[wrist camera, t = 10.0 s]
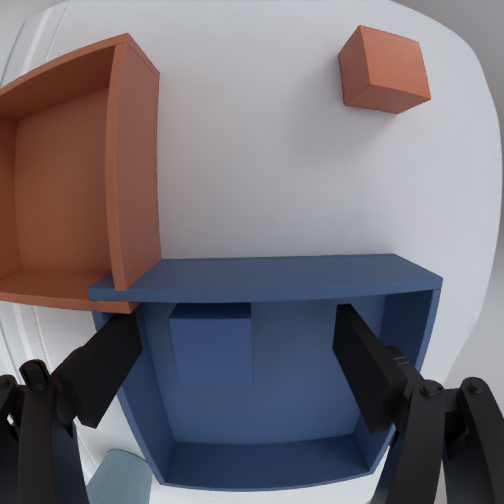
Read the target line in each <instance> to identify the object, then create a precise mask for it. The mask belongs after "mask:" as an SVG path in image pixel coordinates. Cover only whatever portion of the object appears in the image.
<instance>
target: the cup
mask: <svg viewBox="0 0 504 504" xmlns="http://www.w3.org/2000/svg"><path fill="white" fill-rule="evenodd" d="M152 473H153V472H152V470H151V468H150V466H149V464H148V463H147V462H146V461H144V460H143V459H141V458H139V457H138V456H136V455H133V454H131V453H128V452H125V451H121V450H111V451H109V453H108V454H107V455H106V457H105V458H104V460H103V461H102V463H101V464H100V466H99V467H98V469H97V471H96V472H95V474H94V475H93V477H92V478H91V480H90V481H89V483H88V485H87V486H86V491H87V495H88V499H89V503H90V504H149V498H150V490H151V482H152Z"/></svg>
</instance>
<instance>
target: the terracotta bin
mask: <svg viewBox="0 0 504 504" xmlns="http://www.w3.org/2000/svg"><path fill="white" fill-rule="evenodd" d="M159 76H160V72H159V71H158V70H157V69H156V67H155V66H154V65H153V64H152V62H151V61H150V60H149V59H148V57H147V56H146V55H145V53H144V52H143V51H142V50H141V48H140V47H139V46H138V45H137V43H136V42H135V41H134V40H133V38H132V37H131V36H130V35H129V33H126V34H122V35H118V36H115V37H112V38H109V39H105V40H102V41H99V42H96V43H93V44H91V45H88V46H85V47H83V48H80V49H77V50H75V51H72V52H70V53H68V54H65V55H63V56H61V57H58V58H56V59H54V60H52V61H50V62H48V63H46V64H44V65H42V66H40V67H38V68H36V69H34V70H32V71H30V72H28V73H26V74H24V75H23V76H21V77H19V78H17V79H16V80H14V81H12V82H11V83H9V84H7V85H6V86H4V87H3V88H1V89H0V300H2V301H8V302H14V303H21V304H29V305H36V306H44V307H53V308H62V309H72V310H83V311H92V310H93V311H100V312H109V313H125V314H130V313H131V312H132V311H133V310H134V309H135V308H136V307H137V305H138V304H139V303H140V302H129V301H127V300H123V299H122V298H121V299H122V300H120V299H119V300H118V299H117V301H107V300H98V302H90V299H89V296H88V291H87V288H88V287H90V286H91V285H93V284H94V283H96V282H97V281H99V280H100V279H102V278H103V277H105V276H106V275H108V274H109V273H111V272H112V273H113V280H114V286H115V290H116V291H125V290H126V289H127V288H128V287H129V286H130V285H132V284H133V283H134V282H135V281H136V280H137V279H139V278H140V277H141V276H142V275H143V274H145V273H146V272H147V271H148V270H149V269H150V268H152V267H153V266H154V265H155V264H156V263H158V262H159V261H160V260H161V250H160V237H159V222H158V203H157V169H156V141H157V107H158V90H159ZM119 296H120V295H119ZM96 303H97V304H96ZM91 305H92V306H91Z"/></svg>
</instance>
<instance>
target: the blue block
mask: <svg viewBox="0 0 504 504" xmlns="http://www.w3.org/2000/svg"><path fill="white" fill-rule="evenodd" d="M168 323H169V330H170V336H171V342H172V348H173V353H174V359H175V364H176V369H177V374H178V379H179V382H180V383H193V384H253V346H252V310H251V302H239V303H177V304H176V306H175V308H174V309H173V311H172V313H171V314H170V316H169V318H168Z"/></svg>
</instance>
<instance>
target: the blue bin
mask: <svg viewBox="0 0 504 504" xmlns="http://www.w3.org/2000/svg"><path fill="white" fill-rule="evenodd" d="M442 282H443V278H442V277H441V276H439V275H437V274H435V273H433V272H431V271H429V270H427V269H425V268H423V267H421V266H419V265H417V264H414V263H412V262H410V261H408V260H406V259H404V258H402V257H400V256H398V255H396V254H369V255H334V256H296V257H255V258H210V259H161V260H160V261H159V262H158V263H156V264H155V265H154V266H153V267H152V268H150V269H149V270H148V271H147V272H146V273H145V274H143V275H142V276H141V277H140V278H139V279H137V280H136V281H135V282H134V283H133V284H132V285H130V286H129V287H128V288H127V289H126V290H125V291H116V290H115V286H114V280H113V273H112V272H111V273H109V274H108V275H106V276H105V277H103V278H102V279H100V280H99V281H97V282H96V283H94V284H93V285H91V286H90V287H88V288H87V291H88V296H89V299H90V302H98V300H107V301H117V299H118V300H119V299H120V300H122V299H123V300H127V301H129V302H140V303H139V304H138V305H137V307H136V308H135V314H136V319H137V324H138V328H139V333H140V338H141V342H142V346H143V351H142V353H141V354H140V356H139V357H138V359H137V361H136V362H135V364H134V366H133V367H132V369H131V370H130V372H129V374H128V375H127V377H126V379H125V380H124V382H123V384H122V385H121V387H120V389H119V390H118V392H117V397H118V399H119V402H120V404H121V407H122V409H123V412H124V414H125V417H126V419H127V421H128V423H129V426H130V428H131V430H132V432H133V435H134V437H135V439H136V441H137V443H138V445H139V447H140V449H141V451H142V453H143V455H144V457H145V459H146V461H147V463H148V464H149V466H150V468H151V470H152V472H153V473H154V475H155V477H156V479H157V480H158V482H159V484H160V485H165V486H172V487H179V488H187V489H197V490H209V491H231V492H254V491H276V490H288V489H298V488H306V487H313V486H320V485H326V484H331V483H336V482H341V481H346V480H350V479H355V478H359V477H363V476H367V475H370V474H373V473H374V471H375V470H376V468H377V466H378V465H379V463H380V461H381V459H382V457H383V456H384V454H385V452H386V450H387V448H388V446H389V445H388V444H389V442H390V440H391V438H392V436H393V434H394V432H395V430H396V427H395V425H394V423H393V421H392V423H391V425H390V427H389V430H388V431H385V432H381V433H377V434H373V435H370V432H369V430H368V428H367V425H366V423H365V421H364V418H363V416H362V414H361V411H360V409H359V407H358V405H357V402H356V400H355V398H354V396H353V393H352V391H351V389H350V387H349V384H348V382H347V380H346V378H345V376H344V373H343V371H342V369H341V367H340V365H339V362H338V360H337V358H336V356H335V354H334V352H333V349H332V345H333V337H334V328H335V319H336V309H337V304H351V305H352V306H353V307H354V309H355V310H356V311H357V312H358V314H359V315H360V316H361V317H362V319H363V320H364V321H365V322H366V324H367V325H368V326H369V328H370V329H371V330H372V331H373V333H374V334H375V335H376V337H377V338H378V339H379V340H380V342H381V343H382V344H383V346H386V345H393V346H395V347H397V348H398V349H400V350H401V351H402V352H403V353H404V355H405V356H406V358H408V359H409V361H410V363H412V364H413V366H414V367H415V368H416V369H417V371H418V372H419V373H420V370H421V367H422V364H423V361H424V358H425V355H426V351H427V348H428V344H429V341H430V337H431V333H432V329H433V325H434V321H435V317H436V313H437V308H438V303H439V298H440V293H441V289H440V288H441V287H442ZM119 295H120V296H119ZM121 298H122V299H121ZM239 302H251V310H252V346H253V384H193V383H180V382H179V379H178V374H177V369H176V364H175V359H174V353H173V348H172V342H171V336H170V330H169V323H168V318H169V316H170V314H171V313H172V311H173V309H174V308H175V306H176V304H177V303H239ZM96 304H97V303H96ZM91 306H92V305H91ZM114 314H115V313H109V312H100V311H93V310H92V315H93V319H94V323H95V327H96V331H97V332H98V331H99V330H100V329H101V328H102V326H103V325H104V324H106V322H107V321H108V320H109V319H110V318H111V317H112V316H113V315H114Z"/></svg>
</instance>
